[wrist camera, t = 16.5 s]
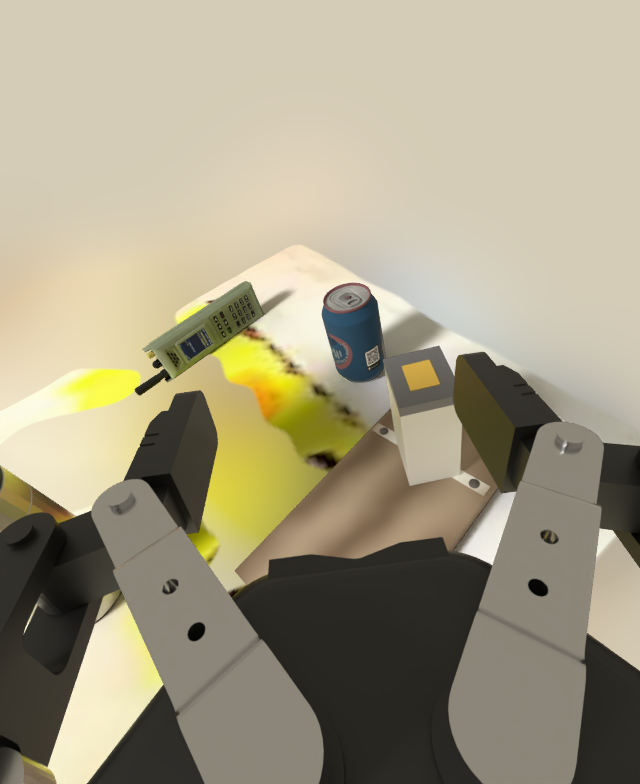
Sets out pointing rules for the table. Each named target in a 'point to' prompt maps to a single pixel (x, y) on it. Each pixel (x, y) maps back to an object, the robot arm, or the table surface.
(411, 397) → the white tall block
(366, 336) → the soda can
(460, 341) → the table surface
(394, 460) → the subfloor panel
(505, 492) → the robot arm
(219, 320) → the handheld radio
